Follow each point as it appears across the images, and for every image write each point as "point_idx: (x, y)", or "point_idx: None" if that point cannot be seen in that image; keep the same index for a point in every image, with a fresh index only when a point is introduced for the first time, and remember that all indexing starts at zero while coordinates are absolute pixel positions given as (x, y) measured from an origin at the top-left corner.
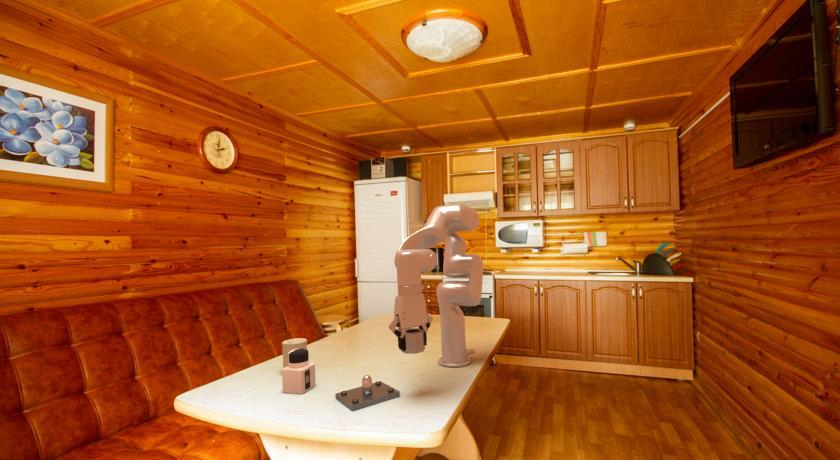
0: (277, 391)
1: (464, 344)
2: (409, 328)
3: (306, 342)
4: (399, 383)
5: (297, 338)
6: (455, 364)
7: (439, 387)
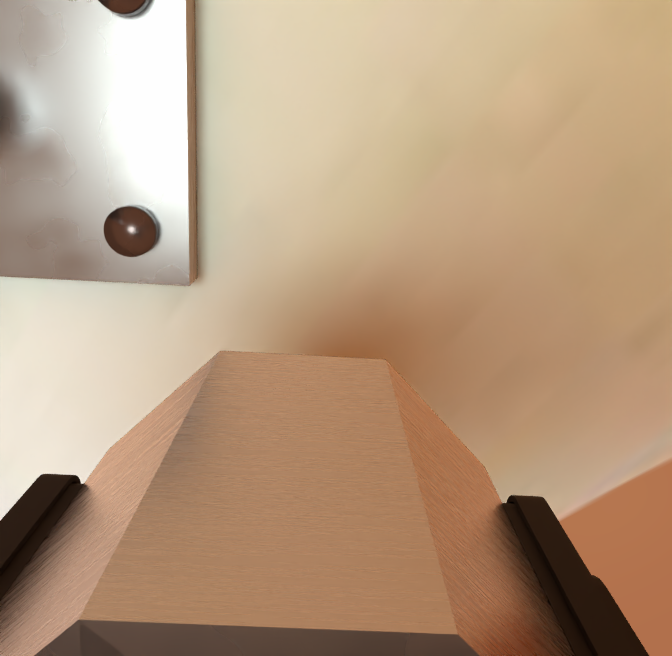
0: None
1: None
2: (426, 654)
3: None
4: (358, 28)
5: None
6: None
7: (518, 348)
